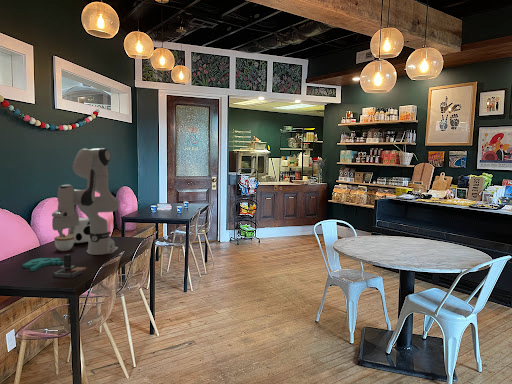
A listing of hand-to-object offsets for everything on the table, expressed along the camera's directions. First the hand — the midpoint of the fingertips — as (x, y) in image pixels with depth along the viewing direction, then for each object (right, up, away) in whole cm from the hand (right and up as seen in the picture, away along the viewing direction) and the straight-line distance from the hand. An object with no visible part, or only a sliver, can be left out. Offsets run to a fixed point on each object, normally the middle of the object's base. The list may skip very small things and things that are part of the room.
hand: (66, 235), depth 222 cm
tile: (+8, -20, -2) cm, 22 cm away
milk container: (-24, -14, +68) cm, 73 cm away
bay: (+7, -20, -12) cm, 25 cm away
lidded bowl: (-24, -16, +45) cm, 53 cm away
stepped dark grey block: (0, -19, +2) cm, 19 cm away
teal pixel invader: (-18, -19, +7) cm, 27 cm away
